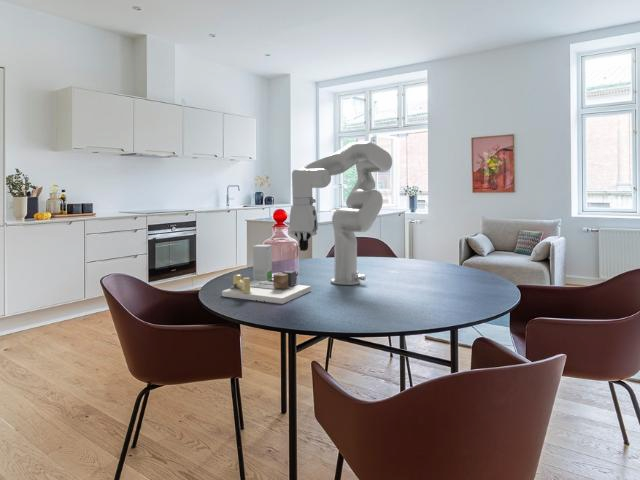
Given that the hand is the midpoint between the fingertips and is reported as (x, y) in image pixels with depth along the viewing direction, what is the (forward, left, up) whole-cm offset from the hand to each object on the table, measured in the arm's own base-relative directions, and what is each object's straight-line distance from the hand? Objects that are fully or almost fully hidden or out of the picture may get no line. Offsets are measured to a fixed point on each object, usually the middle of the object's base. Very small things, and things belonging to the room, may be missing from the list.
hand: (303, 250), depth 179 cm
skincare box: (+27, -12, -17) cm, 34 cm away
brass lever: (+18, +15, -14) cm, 28 cm away
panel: (+12, +8, -17) cm, 22 cm away
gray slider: (+7, 0, -14) cm, 15 cm away
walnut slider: (+7, +6, -14) cm, 17 cm away
